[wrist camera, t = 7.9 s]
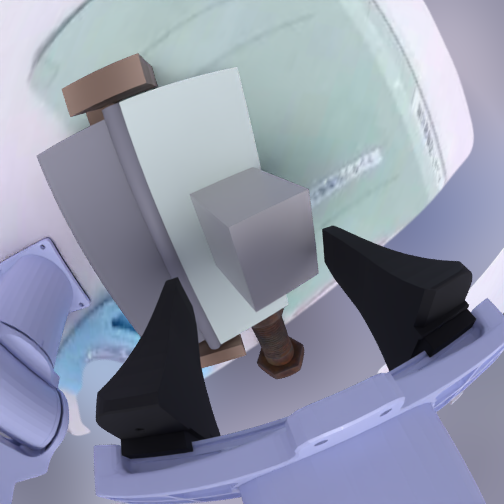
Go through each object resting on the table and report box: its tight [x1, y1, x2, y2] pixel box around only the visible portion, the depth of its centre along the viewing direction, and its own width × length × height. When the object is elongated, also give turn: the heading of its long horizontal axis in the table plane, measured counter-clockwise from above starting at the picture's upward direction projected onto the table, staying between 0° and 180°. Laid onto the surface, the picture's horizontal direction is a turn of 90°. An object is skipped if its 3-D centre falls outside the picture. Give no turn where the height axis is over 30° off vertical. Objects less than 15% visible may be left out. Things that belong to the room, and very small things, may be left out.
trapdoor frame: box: [62, 53, 246, 368], centre depth 18 cm, size 5×22×7 cm, turn 12°
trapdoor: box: [37, 67, 288, 349], centre depth 17 cm, size 11×18×3 cm, turn 12°
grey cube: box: [189, 167, 319, 312], centre depth 15 cm, size 4×5×5 cm
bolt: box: [252, 308, 304, 379], centre depth 28 cm, size 6×5×15 cm
